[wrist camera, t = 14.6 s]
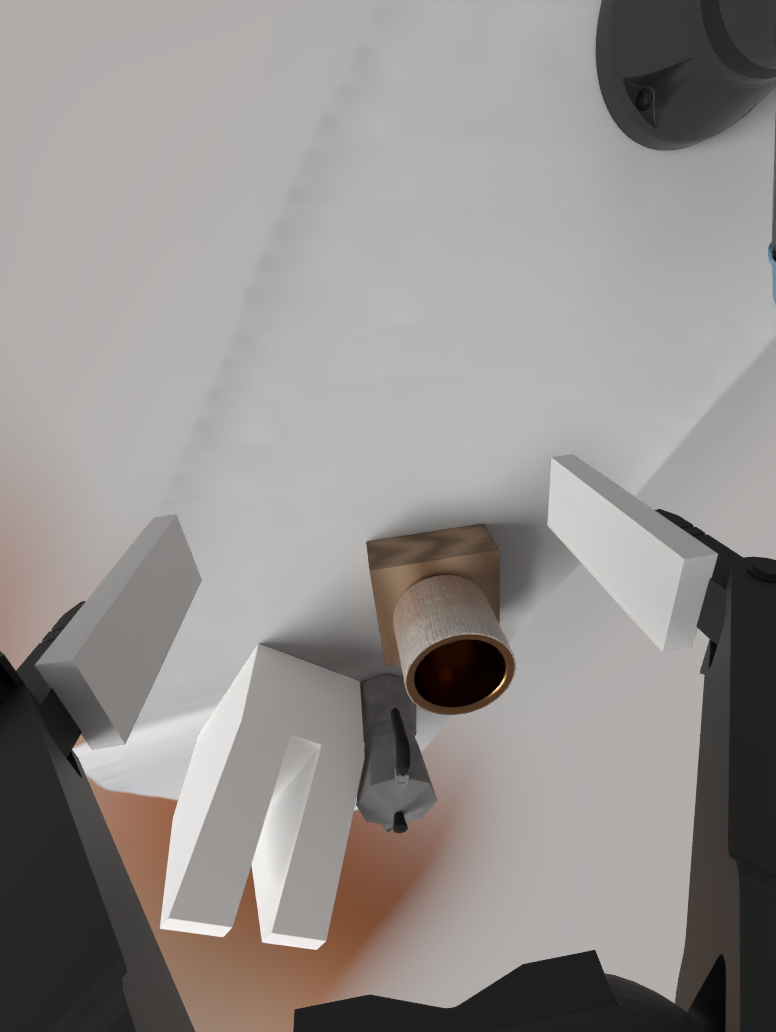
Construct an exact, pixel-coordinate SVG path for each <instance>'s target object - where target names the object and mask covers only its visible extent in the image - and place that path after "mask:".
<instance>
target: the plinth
mask: <svg viewBox="0 0 776 1032" xmlns="http://www.w3.org/2000/svg"><path fill="white" fill-rule="evenodd" d="M366 544H367V552H368V561H369V569H370V575H371V581H372V587H373V593H374V599H375V605H376V612H377V618H378V624H379V630H380V636H381V642H382V648H383V654H384V660H385V666H390V665H396V664H401V662H400V656H399V651H398V647H397V642H396V636H395V631H394V626H393V614H394V609H395V606H396V604H397V602H398V600H399V599H400V597H401V596H402V595H403V593H404V592H405V591H406V590H407V589H409V588H410V587H411V586H413V585H414V584H416V583H417V582H419V581H421V580H424V579H426V578H429V577H433V576H438V575H456V576H461V577H464V578H466V579H469V580H471V581H472V582H474V583H475V584H476V585H478V586H479V588H480V589H481V590H482V591H483V592H484V594H485V595H486V597H487V599H488V602H489V604H490V606H491V608H492V610H493V612H494V614H495V617H496V619H497V621H498V623H499V549H498V547H497V545H496V544H495V542H494V541H493V539H492V538H491V536H490V534H489V533H488V531H487V530H486V528H485V526H484V525H483V524H478V525H472V526H465V527H459V528H452V529H446V530H440V531H433V532H427V533H421V534H414V535H408V536H401V537H395V538H389V539H382V540H376V541H369V542H366Z"/></svg>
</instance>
